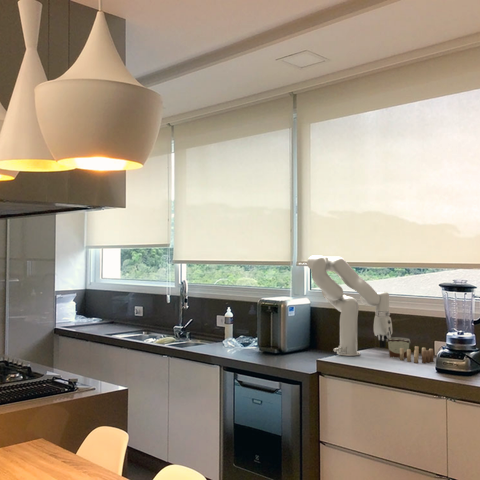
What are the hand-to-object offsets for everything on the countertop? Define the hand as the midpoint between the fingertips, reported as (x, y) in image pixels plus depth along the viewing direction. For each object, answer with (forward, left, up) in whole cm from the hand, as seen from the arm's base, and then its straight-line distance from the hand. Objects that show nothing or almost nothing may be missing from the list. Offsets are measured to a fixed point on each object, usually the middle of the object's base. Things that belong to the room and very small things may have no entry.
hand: (382, 347), depth 308 cm
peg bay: (-1, -25, -4) cm, 25 cm away
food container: (0, -11, -4) cm, 12 cm away
